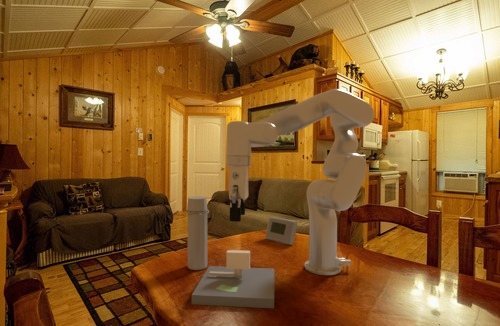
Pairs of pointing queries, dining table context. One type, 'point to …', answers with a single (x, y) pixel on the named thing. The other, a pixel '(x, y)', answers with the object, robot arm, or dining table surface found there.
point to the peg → (235, 264)
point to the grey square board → (236, 288)
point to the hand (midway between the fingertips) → (237, 217)
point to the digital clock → (281, 230)
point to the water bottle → (197, 232)
